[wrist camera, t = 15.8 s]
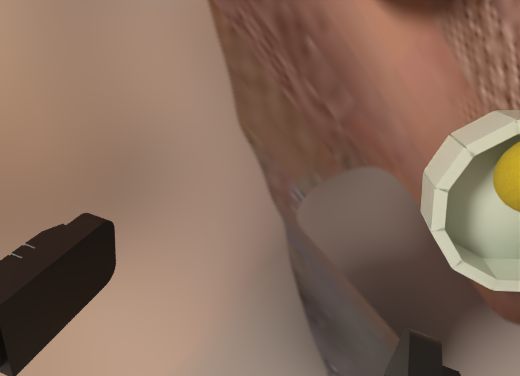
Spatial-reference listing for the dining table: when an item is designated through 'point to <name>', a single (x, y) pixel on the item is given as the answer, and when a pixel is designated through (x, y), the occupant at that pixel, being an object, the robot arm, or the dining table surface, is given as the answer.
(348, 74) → the dining table surface
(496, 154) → the bowl
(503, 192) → the lemon
